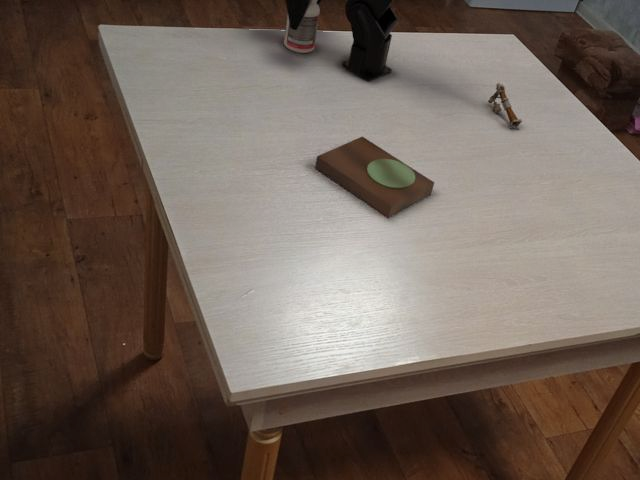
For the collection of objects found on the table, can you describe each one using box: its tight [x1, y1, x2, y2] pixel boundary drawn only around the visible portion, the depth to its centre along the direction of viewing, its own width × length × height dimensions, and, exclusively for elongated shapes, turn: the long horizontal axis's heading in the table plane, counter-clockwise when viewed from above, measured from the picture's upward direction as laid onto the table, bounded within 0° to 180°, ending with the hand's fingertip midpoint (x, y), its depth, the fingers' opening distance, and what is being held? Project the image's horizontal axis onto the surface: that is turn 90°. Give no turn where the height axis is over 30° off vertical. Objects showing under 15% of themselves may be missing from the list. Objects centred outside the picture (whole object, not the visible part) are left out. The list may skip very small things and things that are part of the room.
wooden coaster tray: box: [314, 136, 435, 218], centre depth 118 cm, size 10×14×2 cm
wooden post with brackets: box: [487, 82, 523, 129], centre depth 140 cm, size 2×8×4 cm, turn 30°
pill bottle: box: [283, 0, 321, 54], centre depth 140 cm, size 5×5×10 cm
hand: (303, 19), depth 140 cm, fingers open, 9 cm apart
